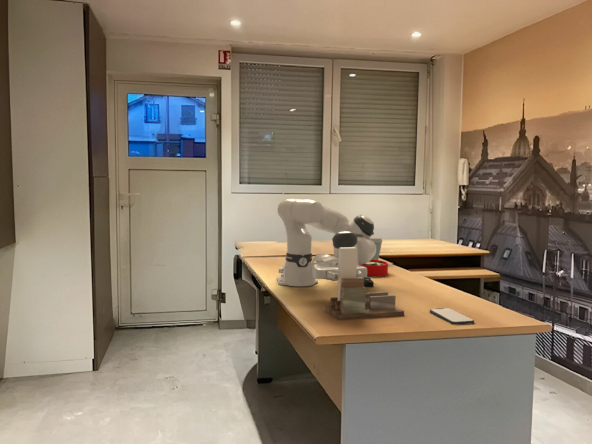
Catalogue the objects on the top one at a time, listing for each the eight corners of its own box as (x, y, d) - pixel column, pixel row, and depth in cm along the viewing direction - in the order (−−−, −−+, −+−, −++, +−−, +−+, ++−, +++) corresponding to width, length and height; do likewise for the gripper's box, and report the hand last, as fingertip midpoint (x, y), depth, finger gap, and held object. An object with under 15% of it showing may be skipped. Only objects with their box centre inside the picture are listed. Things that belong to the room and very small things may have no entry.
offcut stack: (340, 312, 164) (341, 278, 163) (361, 310, 167) (362, 277, 166) (343, 314, 161) (344, 279, 160) (364, 313, 164) (365, 279, 163)
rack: (324, 309, 173) (325, 293, 172) (385, 305, 180) (386, 290, 180) (339, 319, 160) (339, 302, 159) (404, 315, 167) (404, 298, 167)
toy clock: (358, 266, 234) (343, 259, 253) (358, 277, 235) (343, 270, 254) (394, 265, 239) (377, 258, 259) (394, 276, 240) (377, 269, 259)
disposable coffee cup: (359, 262, 280) (360, 237, 279) (371, 260, 287) (372, 236, 286) (373, 264, 272) (374, 238, 271) (385, 262, 279) (386, 237, 278)
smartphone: (475, 325, 159) (449, 311, 175) (476, 320, 159) (449, 307, 175) (452, 327, 157) (427, 313, 173) (453, 322, 157) (428, 308, 172)
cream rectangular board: (337, 308, 169) (338, 247, 168) (352, 307, 171) (354, 247, 169) (339, 309, 167) (341, 248, 165) (355, 308, 169) (357, 248, 167)
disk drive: (374, 288, 213) (368, 281, 228) (374, 282, 212) (368, 275, 227) (351, 288, 212) (346, 280, 227) (351, 282, 212) (346, 275, 227)
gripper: (358, 276, 184) (374, 283, 171) (308, 278, 178) (321, 286, 165) (358, 260, 183) (374, 266, 170) (309, 261, 177) (321, 268, 164)
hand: (348, 276), depth 167 cm, fingers open, 8 cm apart
